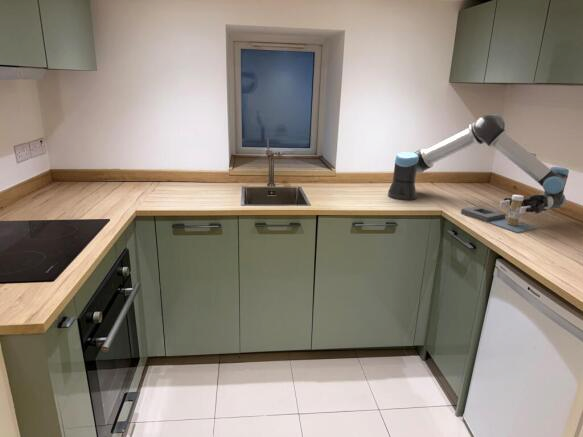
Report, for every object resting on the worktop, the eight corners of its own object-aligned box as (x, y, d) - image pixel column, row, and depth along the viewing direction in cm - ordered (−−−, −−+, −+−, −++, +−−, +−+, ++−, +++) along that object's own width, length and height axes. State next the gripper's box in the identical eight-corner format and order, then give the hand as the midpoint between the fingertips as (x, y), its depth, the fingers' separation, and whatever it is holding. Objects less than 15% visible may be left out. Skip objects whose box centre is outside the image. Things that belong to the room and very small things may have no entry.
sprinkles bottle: (504, 222, 185) (510, 194, 181) (513, 223, 186) (519, 194, 182) (510, 226, 181) (516, 196, 177) (520, 226, 182) (526, 196, 178)
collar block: (460, 213, 198) (461, 208, 197) (479, 210, 205) (480, 205, 204) (486, 222, 187) (487, 217, 186) (505, 218, 194) (506, 213, 193)
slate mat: (488, 223, 186) (488, 221, 186) (507, 219, 193) (507, 218, 193) (517, 233, 175) (517, 231, 174) (536, 229, 181) (536, 227, 181)
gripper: (561, 216, 182) (532, 222, 171) (516, 203, 199) (486, 208, 188) (566, 200, 179) (536, 205, 168) (519, 188, 197) (489, 192, 186)
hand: (510, 207), depth 178 cm, fingers open, 9 cm apart
